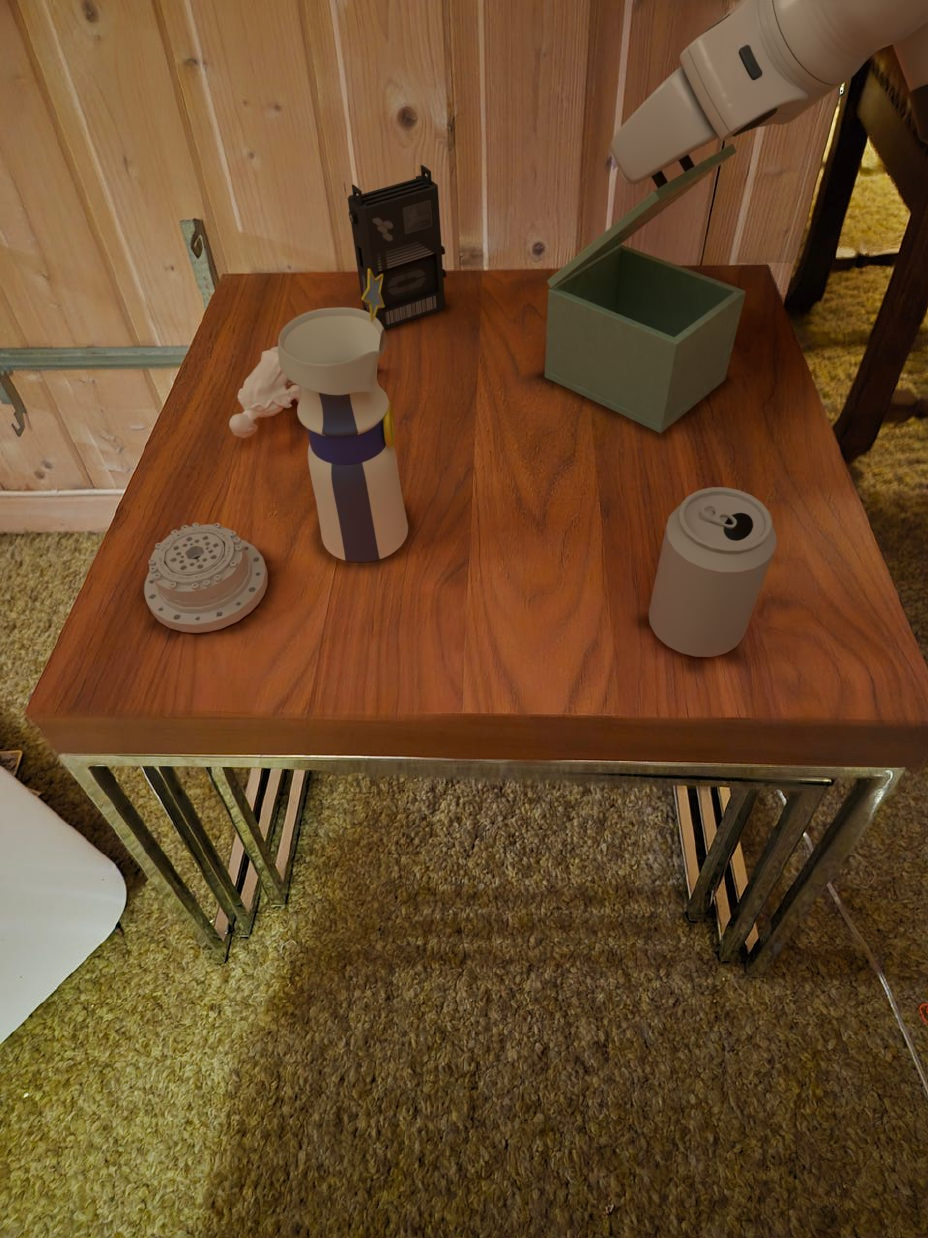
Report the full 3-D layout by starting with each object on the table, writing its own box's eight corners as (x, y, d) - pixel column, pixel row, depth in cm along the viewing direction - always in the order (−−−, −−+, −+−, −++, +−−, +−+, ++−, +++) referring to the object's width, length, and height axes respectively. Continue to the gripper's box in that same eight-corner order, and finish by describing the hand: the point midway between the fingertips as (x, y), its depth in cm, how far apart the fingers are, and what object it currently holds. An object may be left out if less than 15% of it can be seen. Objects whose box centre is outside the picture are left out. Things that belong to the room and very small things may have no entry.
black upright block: (434, 288, 100) (425, 155, 88) (453, 305, 97) (446, 170, 86) (356, 315, 97) (335, 180, 85) (373, 333, 94) (355, 197, 83)
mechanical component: (284, 607, 69) (249, 532, 75) (273, 571, 65) (237, 495, 71) (164, 652, 66) (138, 571, 72) (146, 617, 63) (120, 534, 69)
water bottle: (413, 494, 77) (384, 222, 58) (412, 562, 72) (378, 286, 52) (324, 498, 77) (265, 228, 58) (316, 565, 72) (247, 292, 52)
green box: (725, 379, 86) (746, 290, 79) (660, 433, 81) (676, 344, 74) (610, 329, 93) (620, 243, 86) (544, 376, 88) (548, 289, 80)
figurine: (322, 396, 94) (204, 430, 80) (328, 324, 90) (204, 346, 76) (373, 415, 92) (260, 453, 78) (381, 341, 88) (263, 368, 74)
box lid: (737, 151, 72) (709, 99, 71) (659, 199, 67) (628, 144, 66) (622, 242, 85) (597, 199, 84) (550, 288, 80) (523, 243, 79)
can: (726, 678, 63) (764, 569, 54) (632, 641, 65) (653, 531, 56) (756, 610, 67) (796, 498, 58) (666, 578, 69) (691, 466, 60)
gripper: (831, -28, 64) (698, 88, 76) (679, 45, 54) (555, 165, 66) (868, 52, 65) (731, 154, 77) (725, 137, 56) (595, 237, 68)
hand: (648, 160), depth 72 cm, fingers closed on box lid, 5 cm apart
